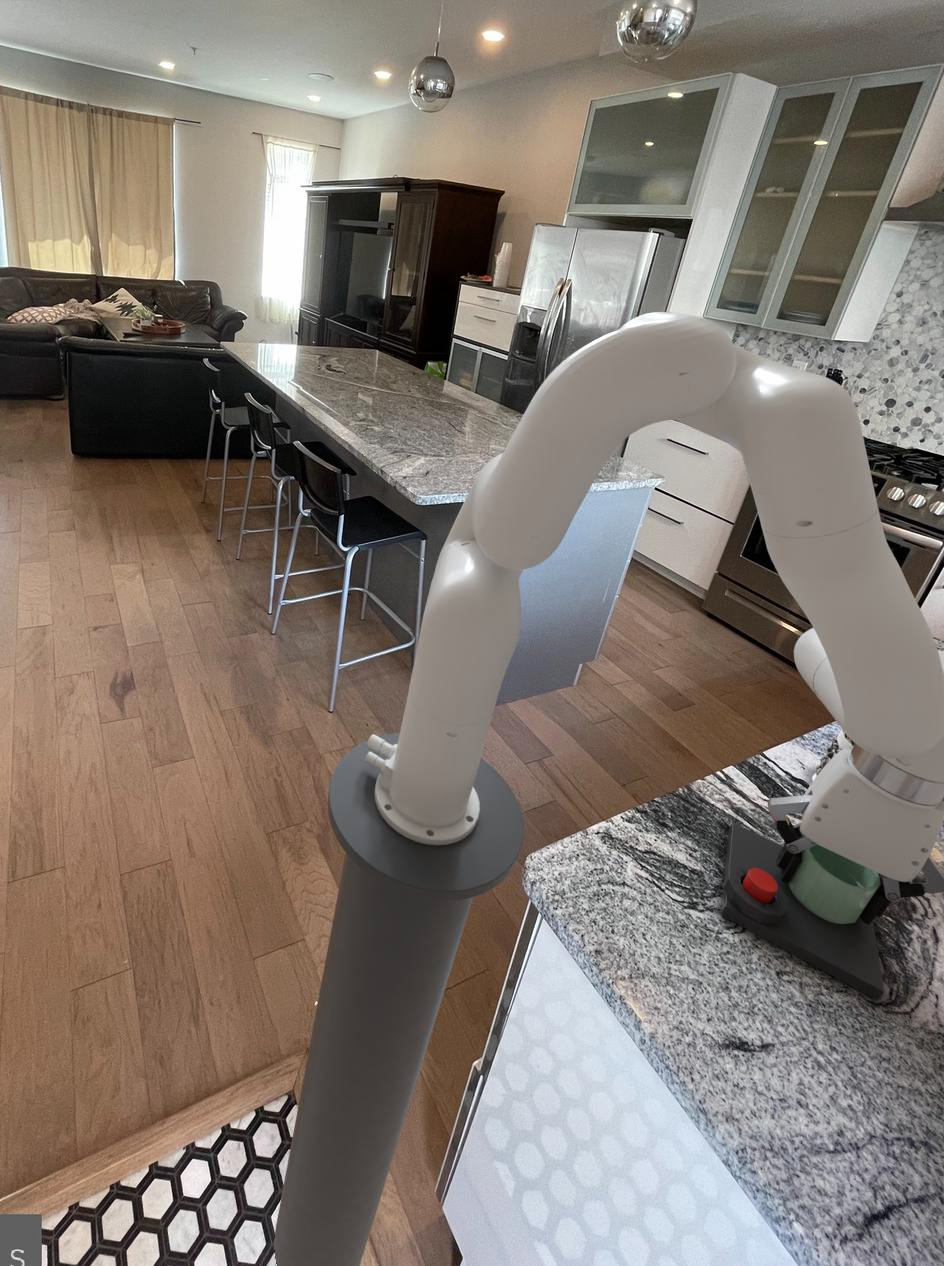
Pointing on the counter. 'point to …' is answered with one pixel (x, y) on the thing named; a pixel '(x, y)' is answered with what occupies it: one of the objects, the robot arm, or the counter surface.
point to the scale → (796, 918)
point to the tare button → (760, 885)
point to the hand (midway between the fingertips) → (822, 891)
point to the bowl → (833, 885)
